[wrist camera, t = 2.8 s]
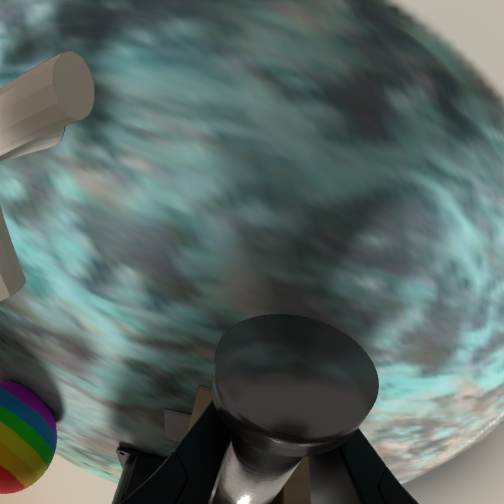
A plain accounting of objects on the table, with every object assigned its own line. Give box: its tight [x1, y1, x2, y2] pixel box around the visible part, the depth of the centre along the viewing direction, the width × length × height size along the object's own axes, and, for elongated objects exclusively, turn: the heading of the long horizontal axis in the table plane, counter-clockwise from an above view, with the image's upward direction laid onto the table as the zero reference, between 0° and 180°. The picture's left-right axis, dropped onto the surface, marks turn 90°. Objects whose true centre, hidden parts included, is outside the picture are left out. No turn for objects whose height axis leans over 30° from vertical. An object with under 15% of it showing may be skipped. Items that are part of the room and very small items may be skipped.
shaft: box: [211, 314, 379, 504], centre depth 11 cm, size 17×4×4 cm, turn 170°
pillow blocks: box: [188, 386, 311, 504], centre depth 14 cm, size 10×6×8 cm, turn 170°
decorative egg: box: [0, 381, 57, 494], centre depth 15 cm, size 8×8×10 cm
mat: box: [163, 409, 191, 442], centre depth 18 cm, size 3×10×1 cm, turn 80°
